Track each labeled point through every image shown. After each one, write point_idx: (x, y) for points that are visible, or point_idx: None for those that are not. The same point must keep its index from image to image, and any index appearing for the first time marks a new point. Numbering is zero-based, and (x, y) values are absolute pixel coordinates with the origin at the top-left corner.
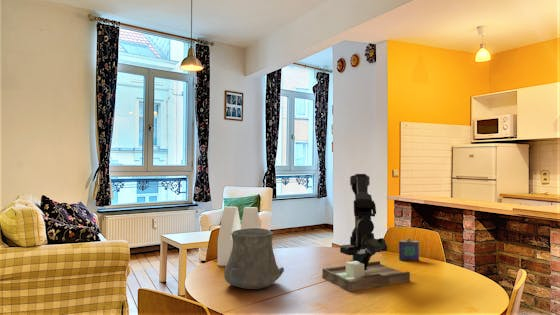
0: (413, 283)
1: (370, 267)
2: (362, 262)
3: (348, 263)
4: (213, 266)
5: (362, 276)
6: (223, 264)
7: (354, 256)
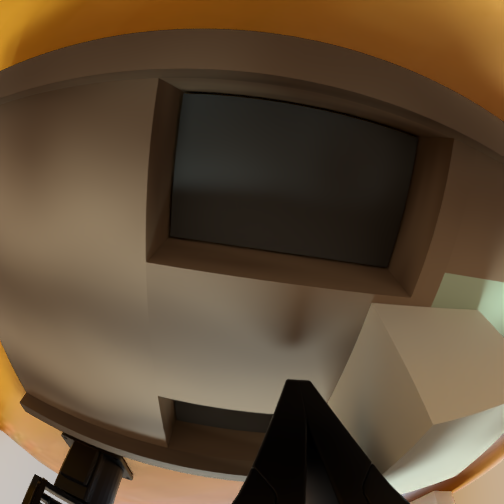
0: (18, 50)
1: (109, 409)
2: (366, 472)
3: (483, 450)
4: (460, 486)
5: (403, 296)
6: (449, 493)
7: (115, 489)
